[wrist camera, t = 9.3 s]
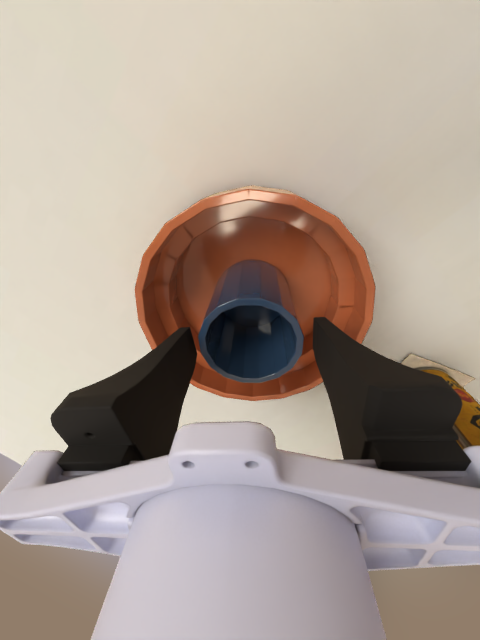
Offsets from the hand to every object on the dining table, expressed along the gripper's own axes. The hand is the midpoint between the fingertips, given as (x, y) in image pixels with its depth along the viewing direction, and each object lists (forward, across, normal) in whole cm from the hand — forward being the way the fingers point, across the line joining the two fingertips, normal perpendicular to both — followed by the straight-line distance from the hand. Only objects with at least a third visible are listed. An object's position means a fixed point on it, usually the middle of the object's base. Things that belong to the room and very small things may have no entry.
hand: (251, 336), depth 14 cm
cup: (+6, 0, 0) cm, 6 cm away
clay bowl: (+6, 0, 0) cm, 6 cm away
